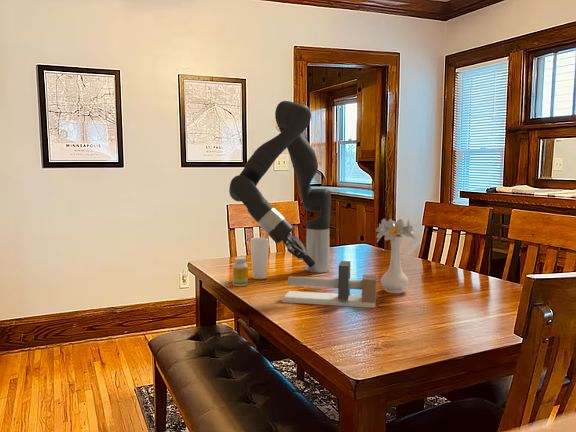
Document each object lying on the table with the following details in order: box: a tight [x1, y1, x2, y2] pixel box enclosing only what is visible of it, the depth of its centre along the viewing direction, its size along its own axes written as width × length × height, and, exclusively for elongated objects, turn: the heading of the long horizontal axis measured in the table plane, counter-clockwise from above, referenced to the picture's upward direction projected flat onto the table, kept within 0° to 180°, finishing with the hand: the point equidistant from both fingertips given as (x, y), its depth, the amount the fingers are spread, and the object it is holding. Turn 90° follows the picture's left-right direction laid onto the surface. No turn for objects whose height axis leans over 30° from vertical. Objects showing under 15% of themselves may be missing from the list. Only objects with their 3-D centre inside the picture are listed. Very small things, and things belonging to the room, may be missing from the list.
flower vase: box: [375, 218, 417, 294], centre depth 168 cm, size 13×18×25 cm
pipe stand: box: [281, 274, 377, 309], centre depth 157 cm, size 28×11×8 cm, turn 79°
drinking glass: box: [249, 237, 270, 280], centre depth 187 cm, size 7×7×15 cm
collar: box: [337, 260, 351, 300], centre depth 156 cm, size 3×8×10 cm, turn 169°
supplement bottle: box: [232, 256, 249, 287], centre depth 177 cm, size 5×5×10 cm
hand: (313, 265), depth 157 cm, fingers closed
